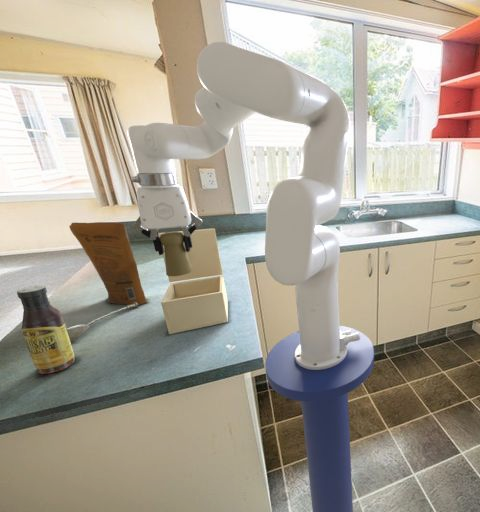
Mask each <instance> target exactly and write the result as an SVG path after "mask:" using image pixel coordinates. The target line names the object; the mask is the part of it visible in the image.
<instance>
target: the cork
mask: <svg viewBox="0 0 480 512" xmlns="http://www.w3.org/2000/svg"><path fill="white" fill-rule="evenodd" d="M162 233H163V234H162V235H161V236H160V242H161V243H162V245H164V250H165V262H164V264H165V263H166V266H165V274H166V276H167V277H168V276H180V275H185V274H188V273H190V272H192V271H193V268H192V265H191V263H190V260H189V258H188V255H187V252H186V250H185V247H184V245H183V242H184V239H183V237H184V235H183V234H182V233H181V232H178V231H175V230H174V231H173V230H172V231H165V232H162Z"/></svg>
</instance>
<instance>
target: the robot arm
mask: <svg viewBox="0 0 480 512" xmlns="http://www.w3.org/2000/svg"><path fill="white" fill-rule="evenodd" d="M196 60H197V61H196V72H197V73H196V74H197V76H198V79H199V81H200V83H201V85H202V87H201V88H200V89H198V90H197V92H196V93H195V96H194V105H195V108H196V111H197V112H198V114H199V115H200V117H201V118H202V119H203V120H204V121H203V122H201V123H200V124H198V125H195V126H193V125H186V124H177V123H176V124H175V123H167V122H151V123H149V124H146V125H141V124H140V125H137V124H136V125H131V126H129V127H128V128H127V137H128V140H129V144H130V149H131V152H132V156H133V160H134V165H135V168H136V172H137V174H136V175H134V176H130V180H131V183H137V184H138V185H139V186H140V187H137V188H136V200H137V207H138V215H139V217H138V218H137V219H136V220H135V221H134V223H133V224H132V226H131V228H132V229H133V230H134V231H136V232H138V233H141V234H142V235H144V236H145V237H147V238H149V239H150V240H151V241H152V243H153V246H154V251H155V252H158V256H163V253H164V247H163V245H162V243H161V242H160V237H159V235H158V234H159V233H160V229H172V228H174V229H175V228H180V231H183V233H184V237H183V239H184V244H185V249H186V252H190V248H192V247H193V246H192V241H191V236H190V235H191V234H192V233H193V232H194V231H195V230H198V228H199V227H200V226H201V225H202V224H203V222H204V220H203V219H202V218H200V217H199V216H198V215H196V214H195V213H194V212H192V211H191V209H190V205H189V201H188V199H187V195H186V193H185V190H184V188H183V185H180V184H179V180H178V175H177V170H176V167H175V161H174V160H205V159H208V158H211V157H212V156H214V155H216V154H217V153H219V152H220V151H222V150H223V149H225V148H227V146H228V145H229V144H230V142H231V139H232V137H233V132H234V131H233V130H234V128H235V127H237V126H238V125H240V124H241V123H242V122H244V121H246V120H247V119H249V118H250V117H252V116H253V115H254V114H256V113H257V114H260V115H262V116H265V117H267V118H271V119H274V120H279V121H284V122H289V123H294V124H299V125H304V126H306V127H307V128H308V133H307V135H306V137H305V139H304V141H303V144H302V147H301V151H300V152H301V153H300V165H299V173H298V176H295V177H288V178H286V179H282V180H281V181H279V182H278V183H277V184H276V185H275V186H274V187H273V188H272V189H271V192H270V194H269V196H268V198H267V199H268V200H267V204H266V214H265V215H266V218H265V238H264V240H265V241H264V261H265V266H266V269H267V271H268V273H269V275H270V277H271V278H273V280H274V281H275V282H277V283H278V284H280V285H282V286H288V287H289V286H290V287H291V286H295V287H294V293H295V305H296V314H297V323H298V331H299V335H300V345H299V346H298V347H297V348H296V350H295V360H296V362H297V364H299V365H300V366H301V367H303V368H306V369H310V370H322V369H327V368H330V367H333V366H335V365H337V364H339V363H340V362H341V361H342V360H343V359H344V358H345V357H346V355H347V345H348V343H349V342H354V341H358V340H359V339H360V337H359V334H358V333H354V334H351V331H350V330H348V331H345V332H340V326H341V324H340V322H341V321H340V305H339V304H340V303H339V302H340V301H339V268H340V267H339V266H340V257H341V246H340V242H339V239H338V237H337V235H336V234H335V233H334V232H333V231H332V230H331V229H330V228H328V227H327V226H323V224H325V223H327V222H329V221H331V220H333V219H335V217H336V216H337V215H338V214H339V211H340V208H341V201H342V193H343V185H344V178H345V171H346V160H347V153H348V146H349V141H350V135H351V118H350V114H349V111H348V107H347V105H346V102H345V101H344V100H343V98H342V97H341V96H340V94H339V93H337V91H336V90H334V89H333V88H332V87H331V86H330V85H328V84H327V83H326V82H324V81H322V80H321V79H319V78H317V77H315V76H314V75H311V74H309V73H306V72H304V71H302V70H300V69H299V68H297V67H294V66H293V65H290V64H288V63H286V62H283V61H281V60H279V59H275V58H273V57H270V56H267V55H264V54H261V53H257V52H254V51H251V50H248V49H245V48H242V47H238V46H235V45H233V44H231V43H229V42H224V41H214V42H212V43H209V44H207V45H206V46H205V47H203V48H202V49H201V51H200V53H199V55H198V57H197V59H196ZM192 221H193V222H194V223H193V224H192ZM191 224H192V225H191ZM189 225H190V227H189Z"/></svg>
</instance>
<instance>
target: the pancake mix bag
mask: <svg viewBox="0 0 480 512" xmlns="http://www.w3.org/2000/svg"><path fill="white" fill-rule="evenodd" d="M68 227H69V229H70V230H69V231H70V232H71V233H72V235H73V236H74V237H75V238H76V240H77V241H78V243H79V244H80V246H81V248H82V249H83V251H84V253H85V254H86V256H87V257H88V259H89V261H90V262H91V264H92V265H93V268H94V269H95V270H96V271H95V272H97V274H98V277H99V278H100V280H101V281H102V283H103V285H104V288H105V290H106V292H107V303H109V304H117V305H125V306H129V305H132V304H133V303H134V302H136V303H137V304H138V306H140V305H145V304H148V300H147V298H146V294H145V291H144V289H143V287H142V282H141V279H140V275H139V270H138V263H137V260H136V258H135V256H134V252H133V248H132V246H131V243H130V238H129V235H128V231H127V224H124V223H121V222H114V221H112V222H111V221H105V222H103V221H100V222H97V221H96V222H95V221H94V222H71V224H70V225H68Z"/></svg>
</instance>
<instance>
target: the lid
mask: <svg viewBox="0 0 480 512" xmlns="http://www.w3.org/2000/svg"><path fill="white" fill-rule="evenodd" d="M177 232H181V233H182V234H183V235H184V233H183V231H182V230H180V231H177ZM163 233H164V232H159V234H158V235H159V237H160V236H161V235H162V234H163ZM190 236H191V241H192V246H193V247H192V248H190V252H187V255H188V258H189V260H190V263H191V265H192V268H193V271H192V272H190V273H188V274H185V275H180V276H167V278H168V282H169V283H176V282H183V281H189V280H196V279H203V278H210V277H217V276H224V275H223V273H224V272H223V267H222V262H221V256H220V249H219V245H218V244H219V243H218V239H217V234H216V228H215V227H214V228H205V229H203V228H202V229H196V230H195V231H194V232H193V233H192V234H191V235H190ZM183 245H184V247H185V244H184V242H183ZM163 247H164V245H163ZM185 250H186V249H185ZM162 257H163V261H164V267H166V263H165V250H164V253H163V254H162Z"/></svg>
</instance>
